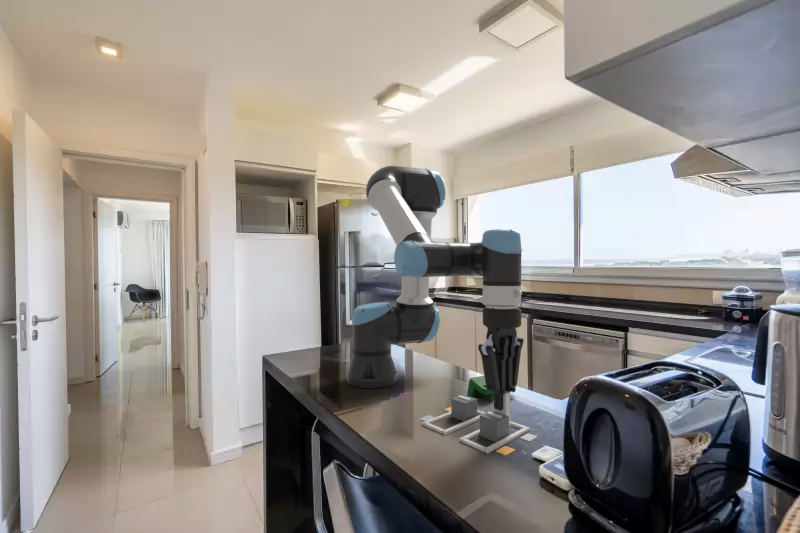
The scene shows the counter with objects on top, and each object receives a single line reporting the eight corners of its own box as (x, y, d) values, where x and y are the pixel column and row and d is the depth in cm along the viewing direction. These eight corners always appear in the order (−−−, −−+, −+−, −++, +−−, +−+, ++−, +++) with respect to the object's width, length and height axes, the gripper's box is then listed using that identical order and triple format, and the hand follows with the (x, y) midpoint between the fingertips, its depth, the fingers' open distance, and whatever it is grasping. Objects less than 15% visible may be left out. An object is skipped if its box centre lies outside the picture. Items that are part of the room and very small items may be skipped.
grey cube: (479, 435, 74) (479, 413, 74) (491, 429, 76) (491, 408, 76) (497, 442, 71) (497, 419, 71) (509, 436, 73) (508, 414, 73)
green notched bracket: (484, 421, 94) (478, 393, 91) (470, 407, 99) (464, 381, 96) (521, 397, 98) (516, 370, 95) (505, 385, 103) (500, 359, 100)
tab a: (451, 416, 83) (451, 397, 83) (462, 412, 86) (462, 393, 86) (465, 422, 80) (465, 401, 80) (477, 417, 83) (477, 397, 83)
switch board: (407, 425, 81) (407, 418, 81) (460, 405, 93) (460, 398, 93) (503, 469, 63) (503, 460, 63) (554, 437, 75) (554, 429, 75)
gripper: (499, 310, 68) (500, 440, 68) (535, 305, 77) (535, 421, 77) (466, 307, 74) (467, 427, 74) (503, 303, 83) (503, 410, 82)
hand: (502, 424), depth 75 cm, fingers closed
